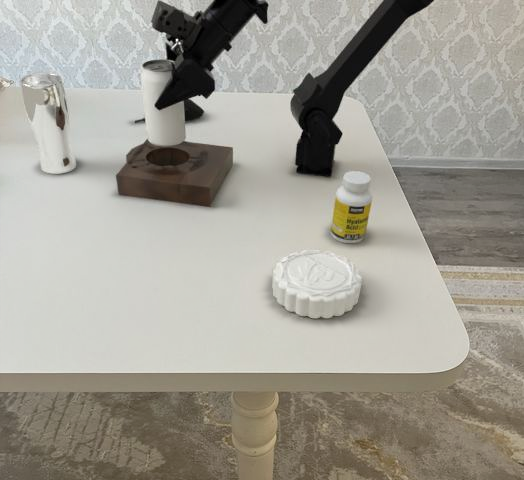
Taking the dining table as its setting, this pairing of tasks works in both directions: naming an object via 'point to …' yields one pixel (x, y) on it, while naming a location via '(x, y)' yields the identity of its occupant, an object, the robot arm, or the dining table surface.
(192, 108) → the gaming mouse
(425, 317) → the dining table surface
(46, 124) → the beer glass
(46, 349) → the dining table surface
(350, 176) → the supplement bottle
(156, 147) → the holder board
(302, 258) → the mooncake
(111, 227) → the dining table surface
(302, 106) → the robot arm
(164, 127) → the can
